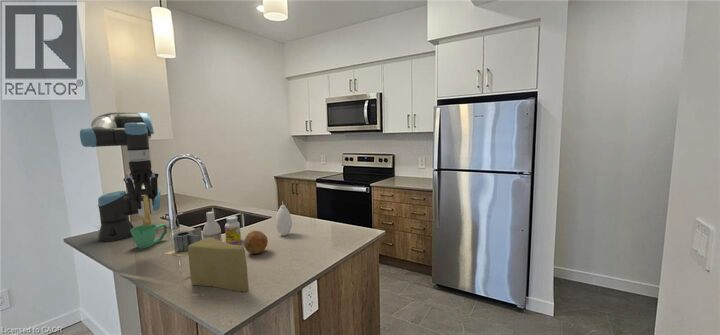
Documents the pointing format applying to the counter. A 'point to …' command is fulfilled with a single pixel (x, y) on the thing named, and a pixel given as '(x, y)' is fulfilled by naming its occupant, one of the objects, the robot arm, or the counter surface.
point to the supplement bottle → (232, 230)
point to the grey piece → (186, 239)
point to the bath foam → (211, 228)
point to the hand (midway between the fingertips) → (146, 214)
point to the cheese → (218, 265)
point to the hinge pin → (146, 211)
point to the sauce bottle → (283, 220)
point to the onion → (255, 242)
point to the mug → (147, 235)
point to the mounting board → (177, 253)
